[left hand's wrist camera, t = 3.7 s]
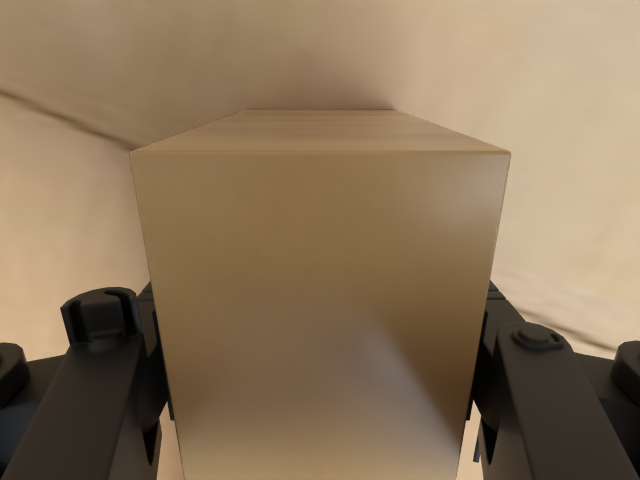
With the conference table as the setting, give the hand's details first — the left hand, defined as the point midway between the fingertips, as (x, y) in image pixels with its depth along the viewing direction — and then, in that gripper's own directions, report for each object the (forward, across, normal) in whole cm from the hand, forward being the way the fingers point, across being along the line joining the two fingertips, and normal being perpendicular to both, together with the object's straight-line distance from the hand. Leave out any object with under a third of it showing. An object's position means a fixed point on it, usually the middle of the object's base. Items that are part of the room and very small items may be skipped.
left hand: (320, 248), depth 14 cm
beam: (+1, 0, -23) cm, 23 cm away
